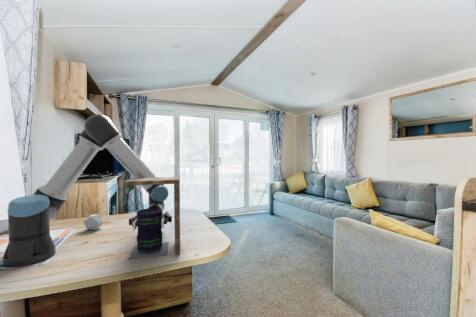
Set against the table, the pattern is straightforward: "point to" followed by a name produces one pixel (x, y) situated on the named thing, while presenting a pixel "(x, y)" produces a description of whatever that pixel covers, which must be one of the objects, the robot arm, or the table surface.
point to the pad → (159, 252)
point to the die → (93, 222)
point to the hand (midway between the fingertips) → (148, 225)
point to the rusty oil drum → (149, 229)
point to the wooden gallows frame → (131, 183)
